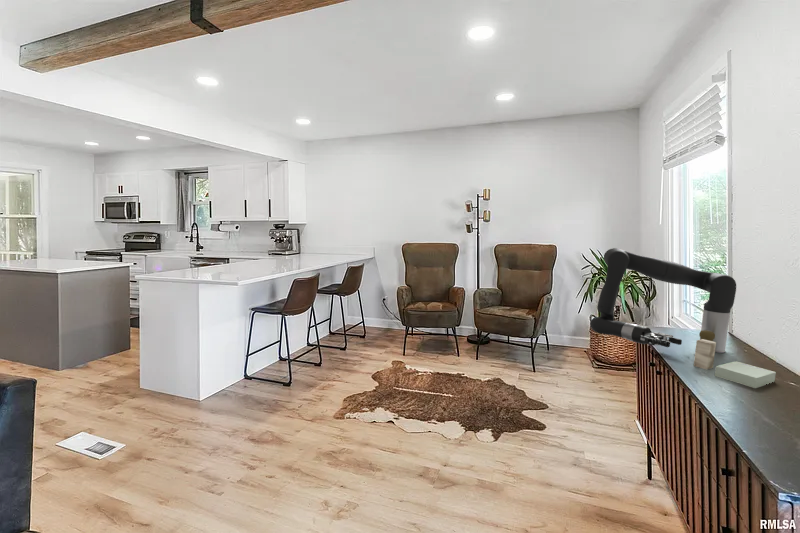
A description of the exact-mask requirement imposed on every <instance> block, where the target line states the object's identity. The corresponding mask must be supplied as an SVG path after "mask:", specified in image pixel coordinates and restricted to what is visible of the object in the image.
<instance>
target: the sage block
mask: <svg viewBox="0 0 800 533" xmlns="http://www.w3.org/2000/svg"><path fill="white" fill-rule="evenodd" d="M714 371H715V372H714V377H717V378H721V379H724V380H727V381H731V382H734V383H736V384H737V383H738V384H741V385H744V386H746V387H750V388H753V389H758V388H761V387H764V386H767V385H769V383H770V384H772V382H773V383H774V382H775V380H776V374H777V372H776V371H772V370H770V369H766V368H762V367H758V366H754V365H751V364H747V363H744V362H740V361H736V360H735V361H734V360H733V361H732V362H727V363H724V364H719V365H716V366H715V370H714ZM766 384H767V385H766Z"/></svg>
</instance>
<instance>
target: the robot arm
mask: <svg viewBox="0 0 800 533" xmlns="http://www.w3.org/2000/svg"><path fill="white" fill-rule="evenodd" d="M603 260H604V263H605V264H606V266H607V267H606V268H607V269H606V270H607V272H606V277H605V278H606V279H605V282H604V284H603V286H602V289H601V291H600V294H599V297H598V302H597V306H596V309H597V311H598V312H599V313H600V316H597V317H594V318H592V319H591V320H590V322H589V326H590V328H591V330H592V331H593V332H595V333H597V334H600V335H601V334H603V335H610V336H615V337H618V338H622V339H626V340H627V341H630V342H633V343H638V344H641V345H647V344H648V345H651V346H661V347H665V348H670V347H671V343H672V344H674V345H678V346H680V345H682V343H683V341H682V339H681V338H676V337H674V335H671V334H667V333H663V332H660V331H659V332H652V331H651V328H650V327H649V326H645V325H640V324H636V323H632V322H626V321H622V320H615V312H614V311H615V310H614V309H615V306H616V302H617V297H618V293H619V288H620V285H621V282H622V280H623V278H624V275H625V273H626V271H627V270H630V271H634V272H636V273H639V274H640V275H641V274H642V275H644V276H645V277H648V278H651V279H654V280H657V281H660V282H664V283H669V284H674V285H683V286H684V285H685V286H690V287H695V288H697V289H700V290H703V291H704V292H705V291H706V293H707V292H708V293H709V297H708V300H707V301H706V302H704V304H703V311H702V318H701V319H702V320H701V326H700V331H702V330H707V331H711V332H713V333H714V334H715V338H714V339H713V342H716V348H715V353H716V354H717V353H718V354H719V353H720V354H721V353H725V352H726V347H727V341H728V338H727V337H728V332H729V324H730V317H731V316H730V315H731V309H732V308H733V306H734V304H735V298H736V292H737V282H736V279H735V278H733V277H732V276H730V275H727V274H725V273H724V274H723V273H718V272H711V271H703V270H698V269H695V268H691V267H689V266H686V265H683V264H681V263H678V262H674V261H670V260H666V259H661V258H655V257H651V256H643V255H640V254H637V253H633V252H629V251H627V250H624V249H621V248H619V247H612V248H610V249H607V251H605V253H604V254H603Z"/></svg>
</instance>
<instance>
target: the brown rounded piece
mask: <svg viewBox="0 0 800 533" xmlns="http://www.w3.org/2000/svg"><path fill="white" fill-rule="evenodd" d="M714 338H715V334H714V333H713V332H711V331H707V330H702V331H701V330H700V332H699V340H701V339H705V340H709V341H713V339H714Z"/></svg>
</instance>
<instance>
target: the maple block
mask: <svg viewBox="0 0 800 533" xmlns="http://www.w3.org/2000/svg"><path fill="white" fill-rule="evenodd" d="M715 348H716V342H713V341H709V340H705V339H701V340H700V339H698V340H696V344H695V350H694V351H695V352H694V360H693V367H697V368H700V369H703V370H706V371H707V370H710V369H713V368H714V361H715V354H716V352H715Z"/></svg>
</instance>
